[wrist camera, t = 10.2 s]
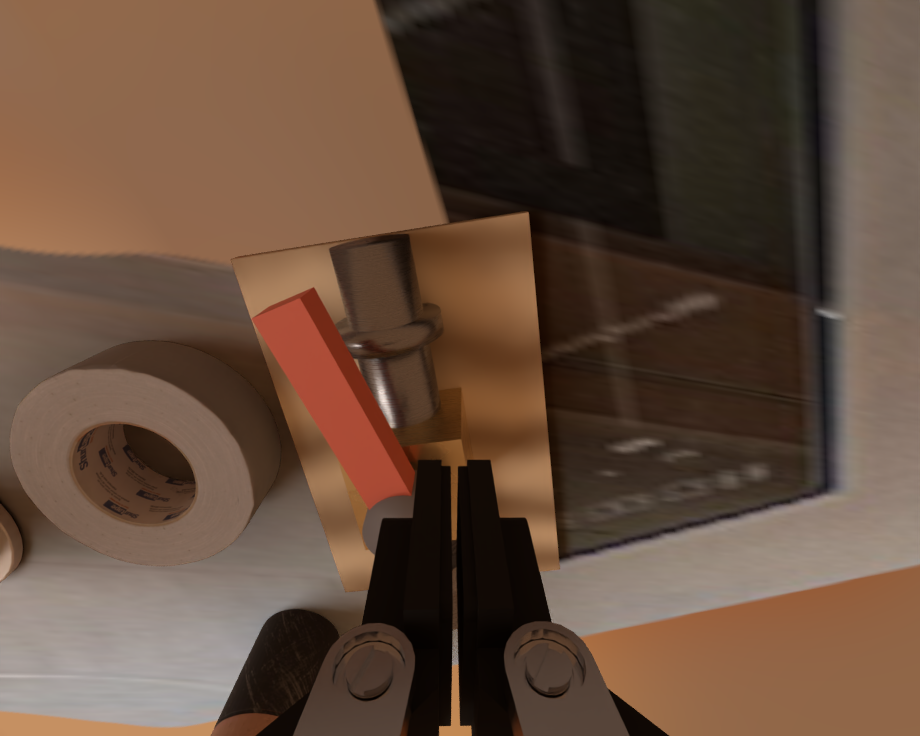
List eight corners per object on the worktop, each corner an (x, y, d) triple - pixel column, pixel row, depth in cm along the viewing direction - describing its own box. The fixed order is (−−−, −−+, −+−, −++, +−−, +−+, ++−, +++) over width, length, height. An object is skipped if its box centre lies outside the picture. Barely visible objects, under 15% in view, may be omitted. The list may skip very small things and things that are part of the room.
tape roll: (61, 315, 30) (-12, 341, 26) (292, 367, 32) (263, 401, 27) (78, 496, 36) (21, 544, 31) (272, 534, 38) (245, 585, 33)
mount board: (557, 559, 38) (560, 569, 37) (348, 582, 39) (345, 592, 38) (526, 211, 27) (528, 212, 26) (238, 256, 28) (230, 259, 28)
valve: (492, 566, 39) (498, 652, 32) (410, 575, 39) (399, 662, 32) (435, 225, 28) (426, 243, 21) (323, 242, 28) (278, 266, 21)
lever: (460, 517, 27) (459, 552, 24) (392, 539, 27) (385, 575, 25) (334, 277, 21) (317, 291, 19) (253, 312, 22) (227, 330, 19)
